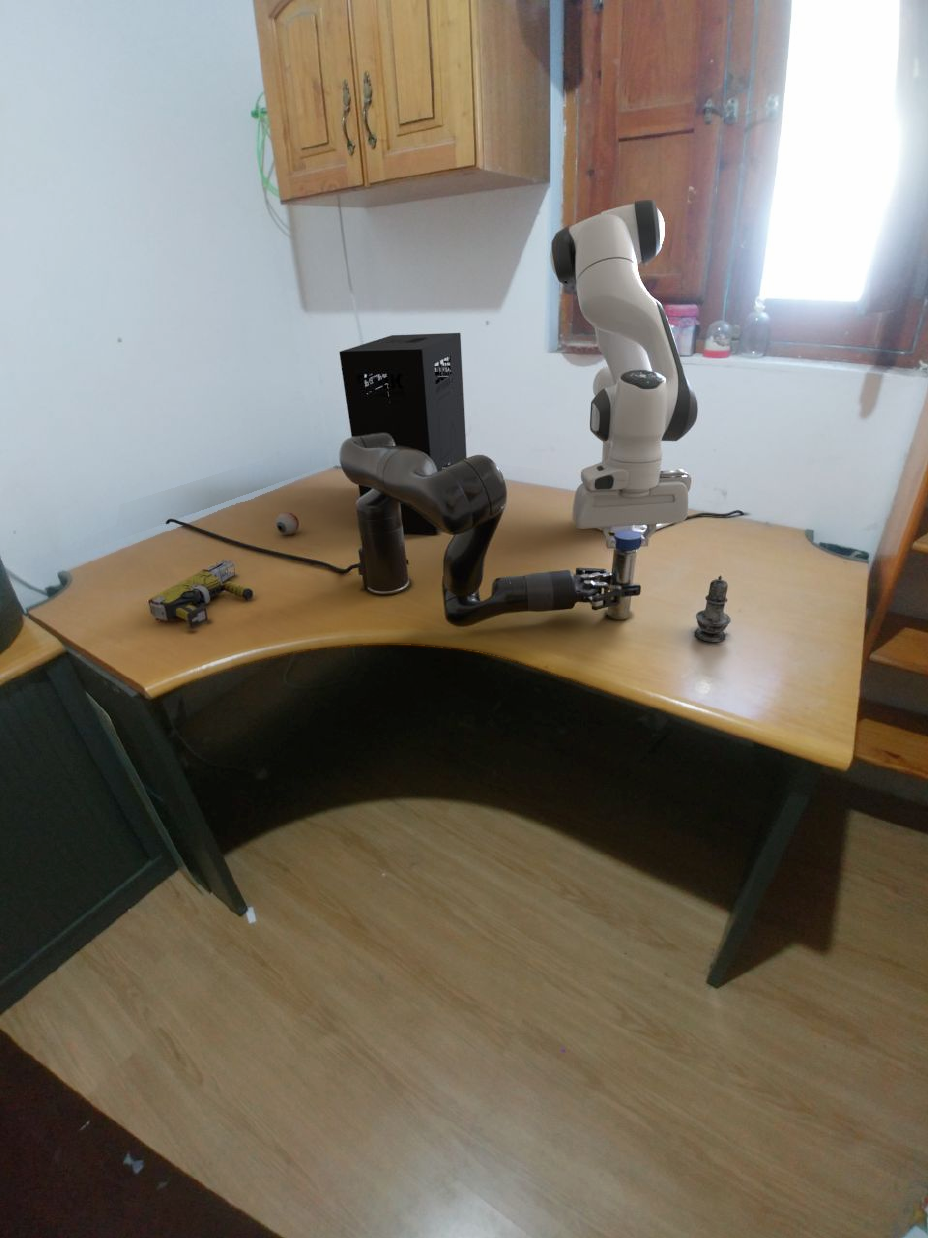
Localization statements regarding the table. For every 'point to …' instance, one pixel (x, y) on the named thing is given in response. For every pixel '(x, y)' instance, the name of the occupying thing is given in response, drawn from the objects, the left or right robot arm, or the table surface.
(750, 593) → the table surface
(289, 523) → the eyeball
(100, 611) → the table surface
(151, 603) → the toy gun
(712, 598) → the grey stone tiered figure
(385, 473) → the left robot arm
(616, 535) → the lid
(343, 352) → the cardboard box
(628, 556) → the jar
